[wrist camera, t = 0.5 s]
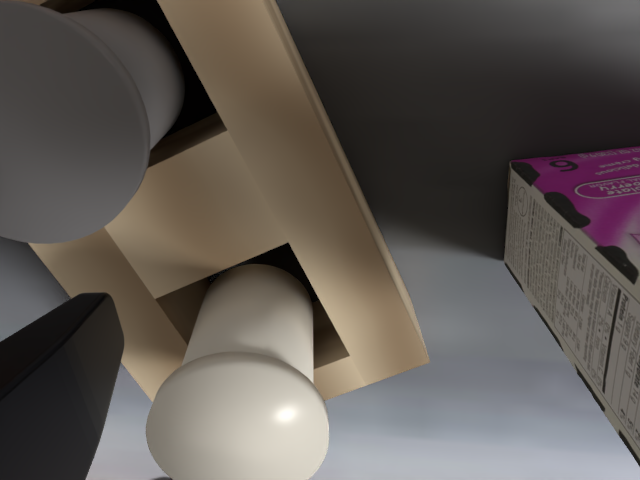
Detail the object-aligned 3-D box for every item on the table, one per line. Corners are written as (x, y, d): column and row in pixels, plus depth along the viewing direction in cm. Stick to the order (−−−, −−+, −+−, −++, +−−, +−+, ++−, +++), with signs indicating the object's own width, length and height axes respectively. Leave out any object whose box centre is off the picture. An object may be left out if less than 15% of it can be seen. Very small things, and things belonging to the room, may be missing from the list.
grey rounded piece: (96, 183, 17) (0, 276, 12) (-2, 39, 15) (-169, 72, 10) (227, 120, 17) (187, 189, 11) (141, -40, 15) (42, -49, 9)
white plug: (231, 381, 21) (204, 520, 16) (166, 285, 19) (108, 406, 14) (345, 338, 20) (357, 469, 15) (288, 232, 18) (278, 339, 13)
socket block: (209, 373, 25) (189, 449, 21) (-267, -306, 15) (-485, -412, 11) (409, 296, 24) (430, 362, 20) (32, -535, 13) (-93, -763, 9)
